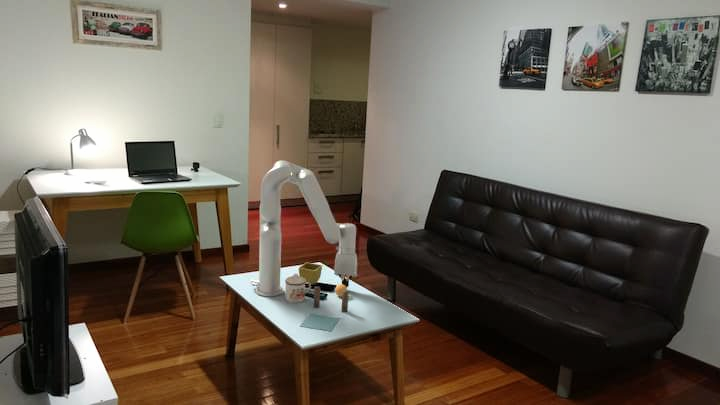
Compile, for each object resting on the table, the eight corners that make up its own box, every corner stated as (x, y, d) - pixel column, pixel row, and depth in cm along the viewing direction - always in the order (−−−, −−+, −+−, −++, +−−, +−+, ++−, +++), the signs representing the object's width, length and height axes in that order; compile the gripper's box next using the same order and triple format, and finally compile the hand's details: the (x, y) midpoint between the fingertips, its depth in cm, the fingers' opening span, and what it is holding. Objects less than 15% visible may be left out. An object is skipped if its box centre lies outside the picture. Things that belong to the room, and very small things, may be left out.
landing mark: (299, 326, 222) (299, 325, 222) (310, 313, 234) (310, 313, 234) (330, 331, 219) (330, 330, 219) (340, 318, 231) (340, 317, 231)
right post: (340, 312, 238) (341, 292, 236) (342, 309, 240) (343, 290, 238) (346, 312, 237) (347, 293, 235) (348, 310, 239) (349, 290, 238)
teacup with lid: (289, 304, 243) (290, 279, 240) (281, 297, 250) (282, 272, 248) (314, 300, 249) (315, 275, 246) (306, 293, 256) (306, 269, 254)
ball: (333, 297, 253) (333, 285, 252) (336, 293, 258) (337, 281, 257) (344, 299, 252) (345, 287, 251) (348, 294, 257) (348, 283, 256)
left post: (312, 307, 240) (313, 288, 239) (314, 305, 243) (315, 286, 241) (318, 308, 240) (319, 288, 238) (320, 306, 242) (321, 286, 240)
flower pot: (314, 288, 262) (315, 270, 260) (297, 285, 265) (298, 267, 263) (322, 282, 270) (322, 265, 268) (305, 279, 273) (306, 262, 271)
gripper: (329, 250, 256) (327, 288, 260) (360, 254, 253) (358, 292, 257) (333, 246, 263) (331, 282, 267) (364, 249, 260) (362, 287, 264)
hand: (345, 287), depth 262 cm, fingers closed
